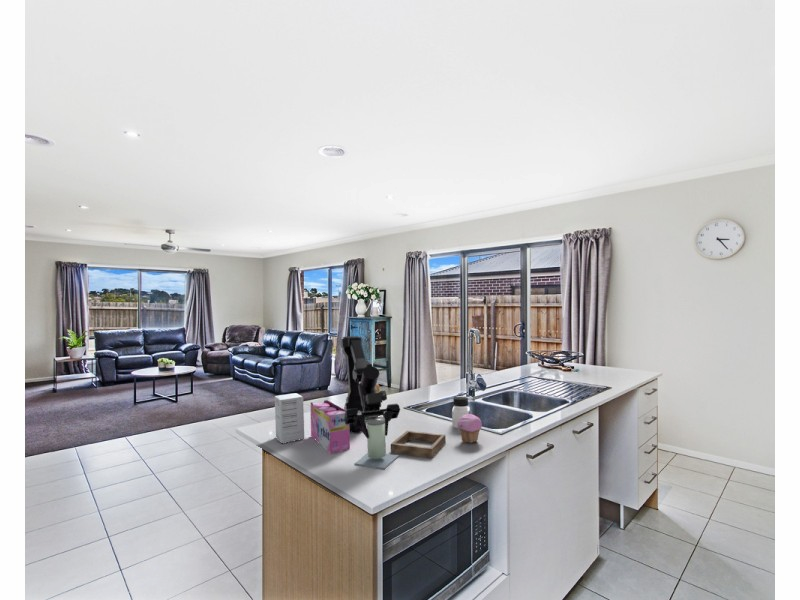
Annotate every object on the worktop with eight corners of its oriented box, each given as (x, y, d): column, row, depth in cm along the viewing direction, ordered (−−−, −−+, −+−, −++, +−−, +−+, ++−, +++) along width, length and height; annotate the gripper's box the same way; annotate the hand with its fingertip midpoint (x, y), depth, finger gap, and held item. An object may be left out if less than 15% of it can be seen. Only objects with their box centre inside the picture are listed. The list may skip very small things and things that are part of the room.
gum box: (309, 435, 161) (308, 402, 161) (327, 432, 165) (326, 399, 165) (330, 454, 141) (329, 415, 141) (351, 449, 145) (349, 411, 145)
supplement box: (305, 439, 156) (303, 396, 156) (281, 444, 152) (280, 400, 152) (298, 433, 165) (296, 392, 165) (275, 437, 160) (274, 395, 160)
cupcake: (468, 436, 155) (467, 410, 155) (487, 441, 149) (486, 414, 149) (453, 441, 149) (452, 415, 149) (472, 447, 143) (471, 419, 143)
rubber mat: (354, 464, 130) (354, 463, 130) (369, 453, 140) (369, 451, 140) (384, 469, 126) (384, 467, 126) (398, 456, 136) (398, 455, 136)
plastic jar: (365, 453, 135) (365, 417, 135) (383, 450, 137) (382, 415, 137) (370, 459, 129) (369, 422, 129) (388, 457, 131) (387, 420, 131)
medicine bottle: (469, 428, 164) (468, 399, 164) (452, 427, 166) (451, 399, 166) (470, 423, 171) (469, 395, 171) (453, 422, 173) (452, 395, 173)
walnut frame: (390, 452, 140) (390, 443, 140) (407, 438, 154) (407, 430, 154) (432, 457, 134) (432, 449, 134) (445, 442, 148) (445, 434, 148)
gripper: (345, 385, 134) (352, 427, 123) (397, 380, 140) (409, 420, 129) (341, 403, 141) (348, 444, 131) (391, 398, 147) (402, 437, 137)
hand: (377, 436), depth 132 cm, fingers closed on plastic jar, 6 cm apart
